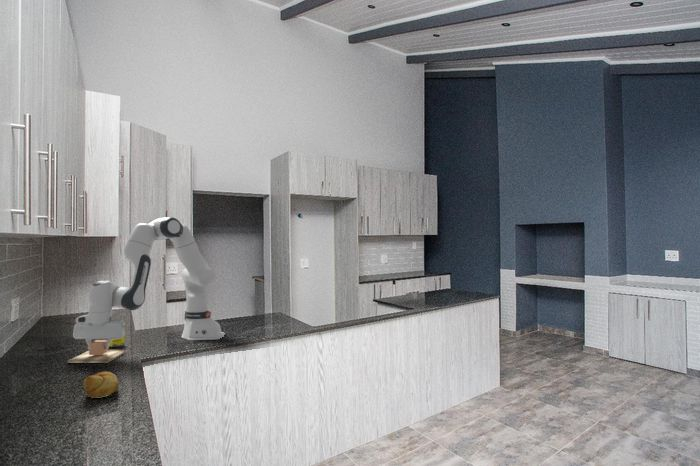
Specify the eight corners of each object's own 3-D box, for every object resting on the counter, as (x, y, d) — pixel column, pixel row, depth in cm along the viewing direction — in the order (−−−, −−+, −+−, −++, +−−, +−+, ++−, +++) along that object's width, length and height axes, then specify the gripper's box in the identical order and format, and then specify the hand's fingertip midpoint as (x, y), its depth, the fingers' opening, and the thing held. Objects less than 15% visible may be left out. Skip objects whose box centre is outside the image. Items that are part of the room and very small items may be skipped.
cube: (107, 351, 175) (107, 340, 175) (101, 354, 170) (101, 343, 170) (95, 351, 174) (96, 340, 174) (89, 354, 169) (89, 343, 170)
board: (125, 353, 181) (125, 349, 181) (107, 363, 165) (107, 360, 165) (89, 352, 179) (89, 349, 179) (67, 363, 163) (67, 360, 163)
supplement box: (111, 348, 188) (112, 325, 188) (106, 346, 191) (107, 323, 191) (124, 346, 192) (126, 323, 193) (119, 344, 196) (120, 322, 196)
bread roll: (91, 388, 138) (92, 365, 138) (122, 385, 141) (123, 363, 142) (80, 402, 126) (81, 377, 126) (114, 399, 129) (116, 375, 130)
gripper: (128, 316, 177) (126, 347, 176) (80, 315, 175) (78, 346, 174) (121, 319, 170) (119, 350, 170) (71, 318, 168) (70, 350, 168)
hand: (98, 348), depth 172 cm, fingers closed on cube, 5 cm apart
